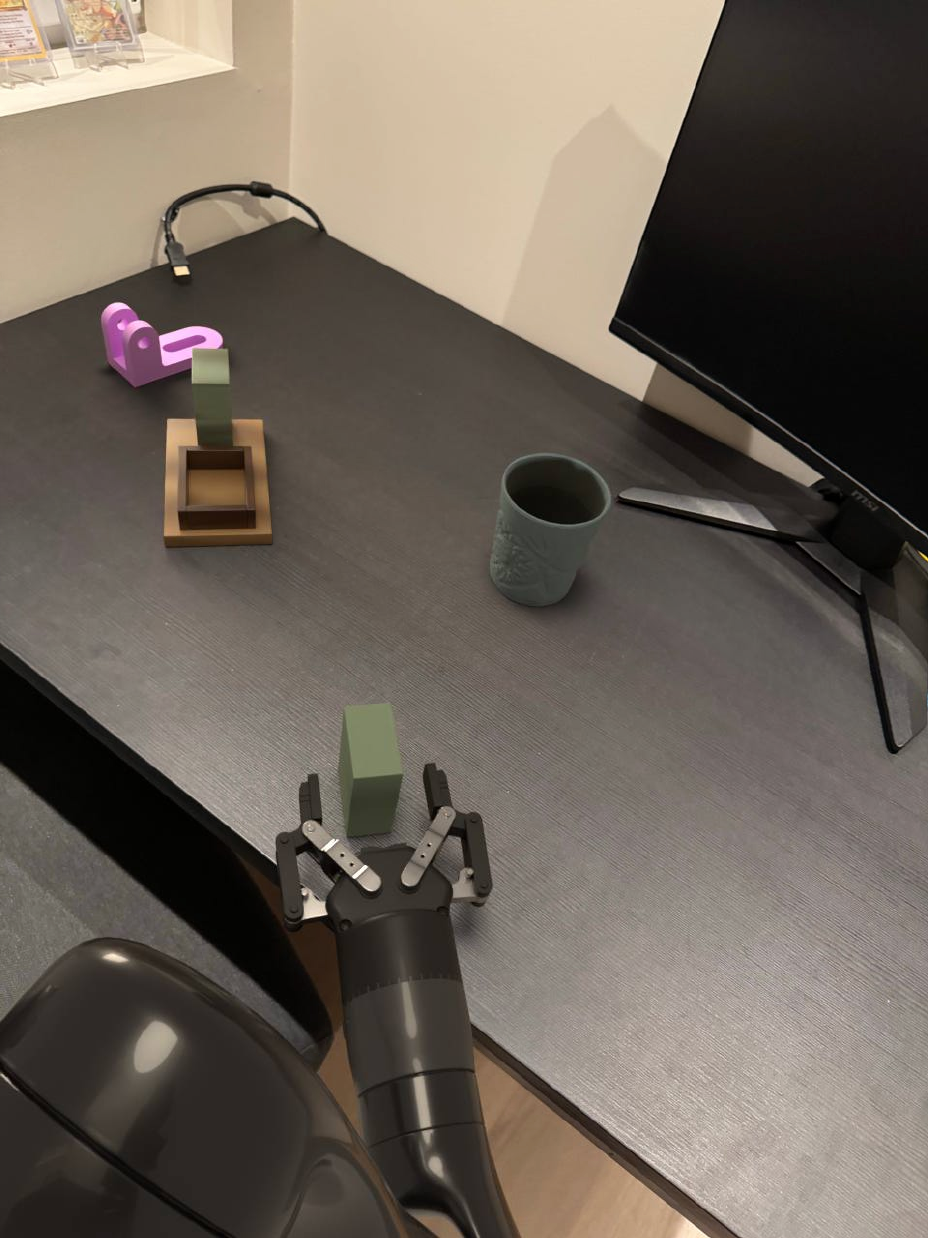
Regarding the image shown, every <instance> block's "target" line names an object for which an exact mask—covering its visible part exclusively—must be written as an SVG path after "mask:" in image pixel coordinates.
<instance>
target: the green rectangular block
mask: <svg viewBox="0 0 928 1238" xmlns="http://www.w3.org/2000/svg"><path fill="white" fill-rule="evenodd" d="M392 705H393V704H392V702H387V703H372V704H359V705H347V706H346V705H345V706H344V707H343V714H342V724H341V734H340V744H339V745H340V747H339V756H338V767H337V771H338V773H337V774H338V780H339V789H340V797H341V805H342V812H343V813H342V814H343V821H344V822H343V823H344V830H345V837H346V838H351V837H352V838H353V837H360V836H361V837H362V836H369V835H379V834H386V833H392V831H393V826H394V820H395V816H396V811H397V807H398V802H399V797H400V793H401V788H402V783H403V779H404V768H403V761H402V756H401V749H400V745H399V739H398V733H397V729H396V728H397V727H396V722H395V717H394V716H395V715H394V710H393V706H392Z"/></svg>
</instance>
